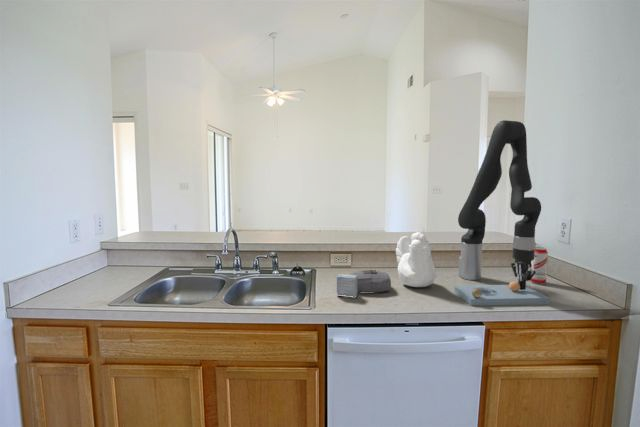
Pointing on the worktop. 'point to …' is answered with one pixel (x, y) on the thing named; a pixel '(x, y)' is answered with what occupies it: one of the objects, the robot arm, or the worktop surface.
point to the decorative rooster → (415, 261)
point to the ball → (514, 286)
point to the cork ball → (476, 293)
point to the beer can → (539, 265)
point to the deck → (500, 295)
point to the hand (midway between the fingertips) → (521, 289)
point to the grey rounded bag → (372, 281)
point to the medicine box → (347, 285)
